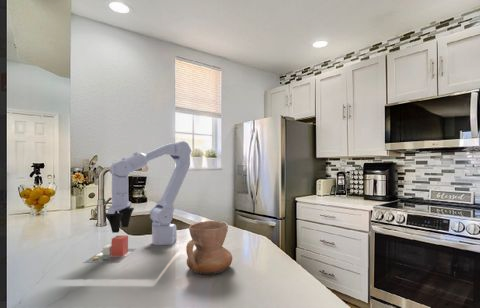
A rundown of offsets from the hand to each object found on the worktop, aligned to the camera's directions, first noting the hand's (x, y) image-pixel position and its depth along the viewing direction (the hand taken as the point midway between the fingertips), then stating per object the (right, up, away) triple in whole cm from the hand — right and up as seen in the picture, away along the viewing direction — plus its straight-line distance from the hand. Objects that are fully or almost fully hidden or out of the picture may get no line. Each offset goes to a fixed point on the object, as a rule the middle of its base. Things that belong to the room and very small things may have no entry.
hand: (120, 229), depth 101 cm
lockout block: (+2, -8, -4) cm, 9 cm away
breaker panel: (-1, -9, -5) cm, 10 cm away
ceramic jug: (+35, -9, -15) cm, 39 cm away
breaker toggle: (-3, -8, -4) cm, 9 cm away
